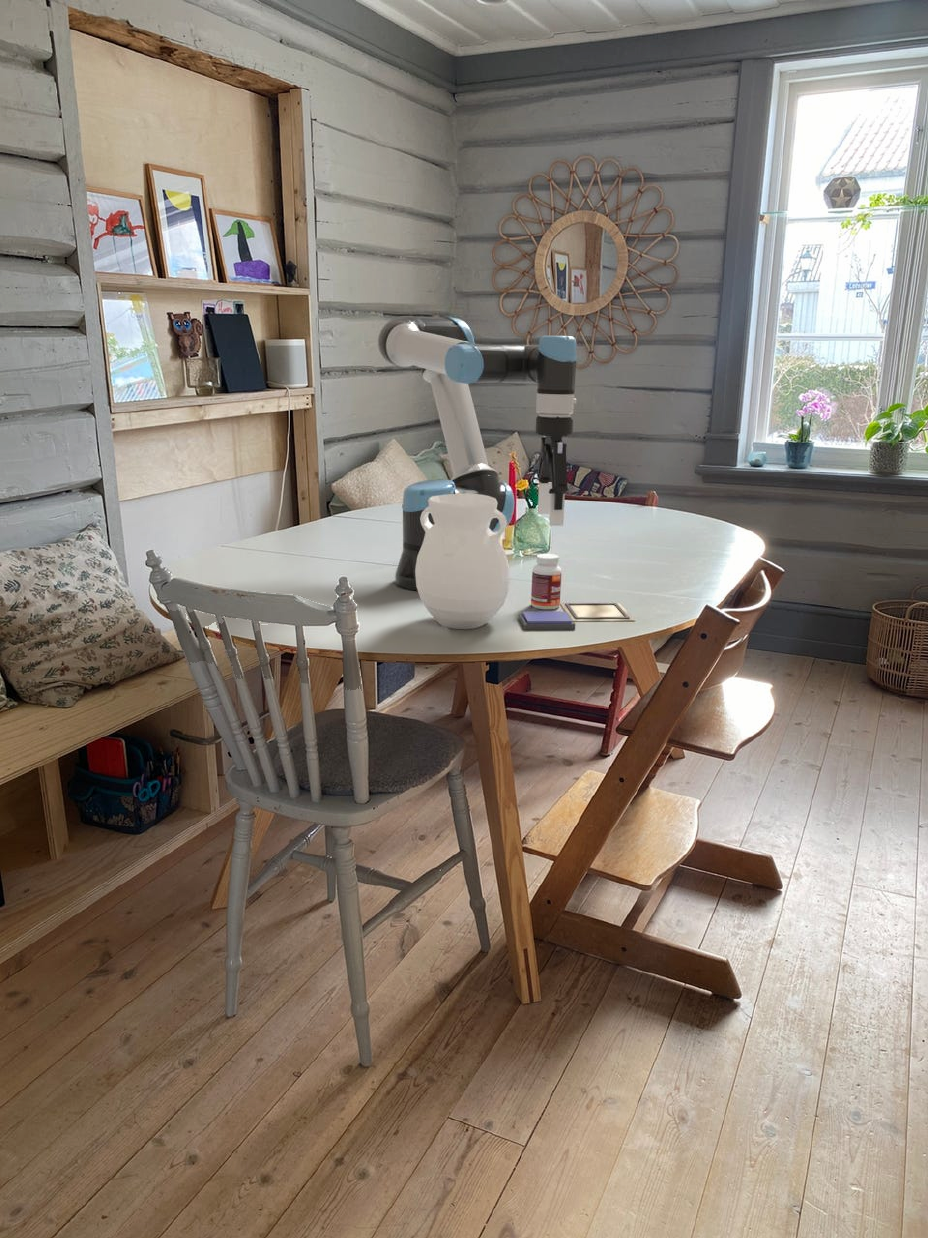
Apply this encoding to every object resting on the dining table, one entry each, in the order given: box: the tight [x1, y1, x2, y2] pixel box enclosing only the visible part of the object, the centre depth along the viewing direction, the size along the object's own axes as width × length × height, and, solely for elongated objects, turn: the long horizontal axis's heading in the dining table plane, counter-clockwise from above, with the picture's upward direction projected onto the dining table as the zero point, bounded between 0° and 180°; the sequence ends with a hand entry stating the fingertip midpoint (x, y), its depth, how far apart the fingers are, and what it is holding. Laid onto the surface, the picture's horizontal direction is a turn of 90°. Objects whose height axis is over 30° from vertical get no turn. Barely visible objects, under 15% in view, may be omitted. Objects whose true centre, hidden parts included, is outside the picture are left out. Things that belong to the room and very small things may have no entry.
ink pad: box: [518, 610, 576, 631], centre depth 190 cm, size 10×8×2 cm
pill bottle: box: [530, 553, 563, 611], centre depth 201 cm, size 6×6×11 cm
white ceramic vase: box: [415, 493, 511, 630], centre depth 186 cm, size 19×18×25 cm
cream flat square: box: [559, 602, 636, 622], centre depth 199 cm, size 13×13×1 cm
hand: (550, 519), depth 198 cm, fingers open, 13 cm apart
